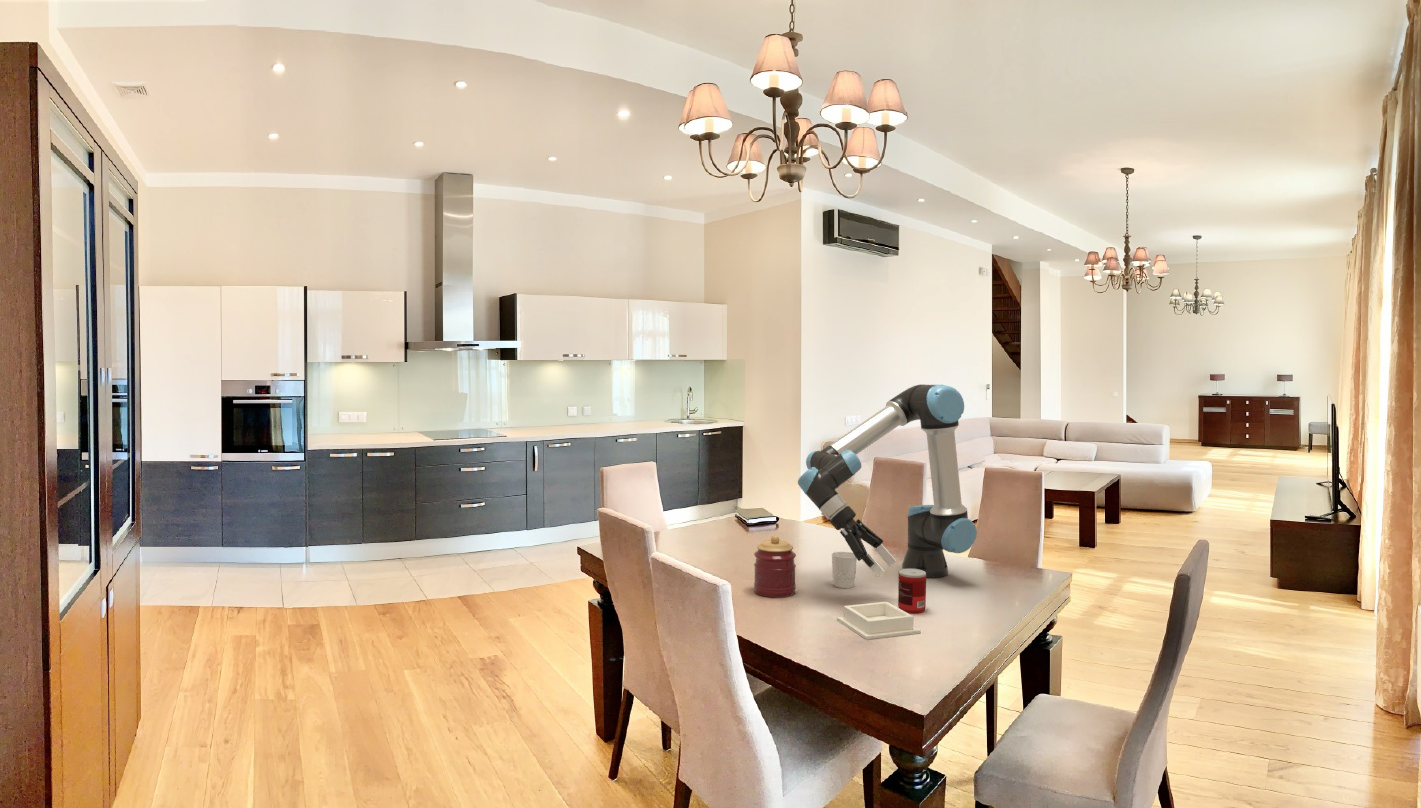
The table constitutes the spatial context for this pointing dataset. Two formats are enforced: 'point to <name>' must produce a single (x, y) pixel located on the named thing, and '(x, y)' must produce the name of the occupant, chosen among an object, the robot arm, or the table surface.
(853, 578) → the white cup
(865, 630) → the white square tray
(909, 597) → the canned food
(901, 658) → the table surface
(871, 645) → the table surface
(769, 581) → the canister
